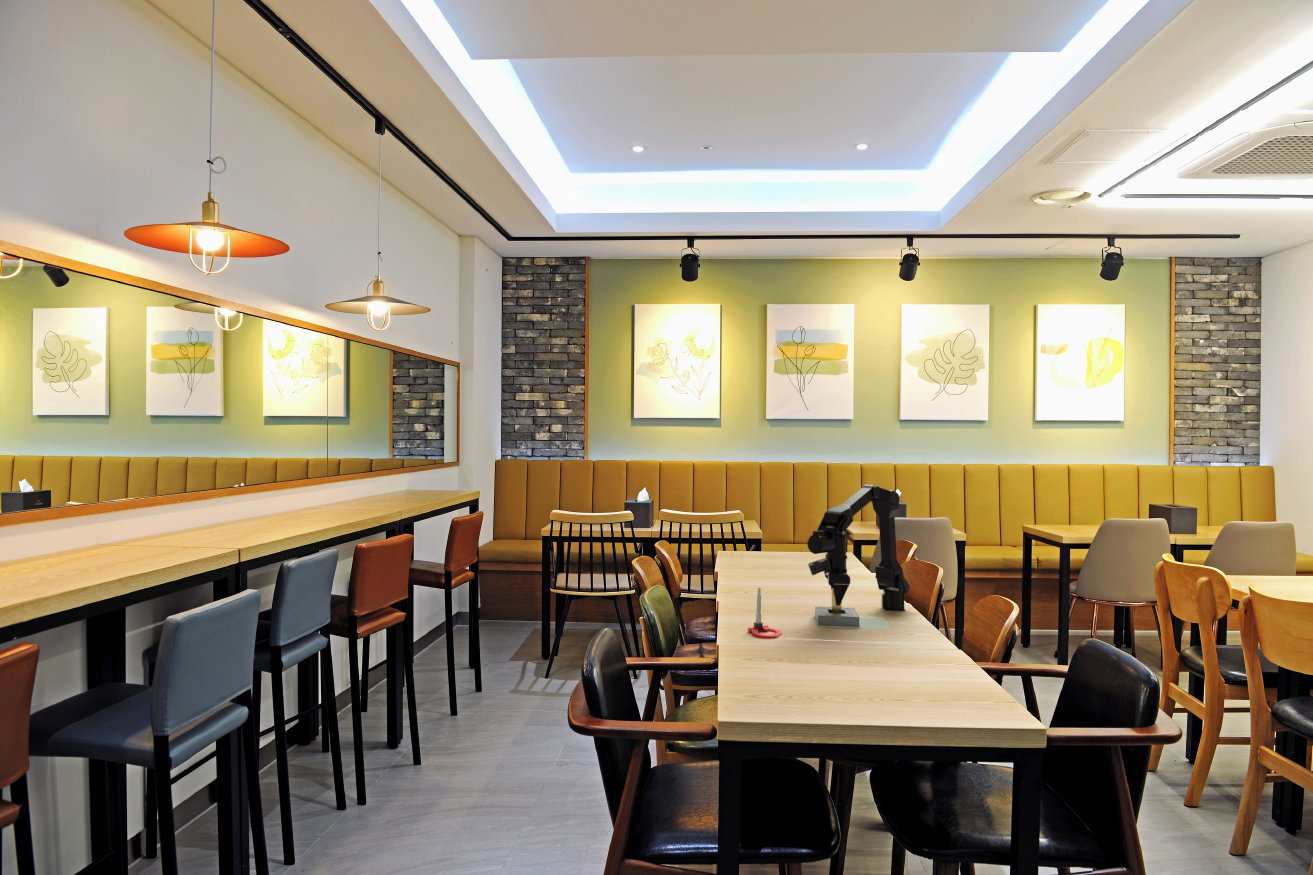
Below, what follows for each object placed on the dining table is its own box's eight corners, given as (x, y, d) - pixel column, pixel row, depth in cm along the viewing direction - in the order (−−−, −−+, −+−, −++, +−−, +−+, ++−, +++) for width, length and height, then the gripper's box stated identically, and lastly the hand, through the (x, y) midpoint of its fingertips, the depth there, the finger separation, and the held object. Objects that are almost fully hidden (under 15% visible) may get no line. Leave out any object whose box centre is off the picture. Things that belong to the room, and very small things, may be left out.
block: (854, 617, 229) (854, 607, 229) (859, 626, 217) (859, 616, 217) (815, 615, 231) (815, 606, 231) (818, 625, 219) (818, 615, 219)
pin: (841, 620, 225) (841, 587, 225) (842, 622, 222) (842, 589, 222) (831, 619, 225) (831, 587, 225) (832, 622, 222) (832, 589, 222)
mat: (883, 618, 229) (883, 617, 229) (891, 630, 214) (891, 629, 214) (814, 616, 232) (814, 614, 232) (818, 627, 217) (818, 626, 217)
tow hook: (787, 637, 208) (768, 628, 216) (789, 592, 207) (769, 585, 215) (763, 641, 204) (744, 632, 212) (764, 595, 203) (745, 588, 212)
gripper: (807, 546, 234) (807, 594, 234) (811, 554, 216) (811, 607, 216) (843, 546, 233) (843, 596, 232) (850, 556, 214) (850, 609, 214)
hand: (836, 602), depth 224 cm, fingers open, 9 cm apart
